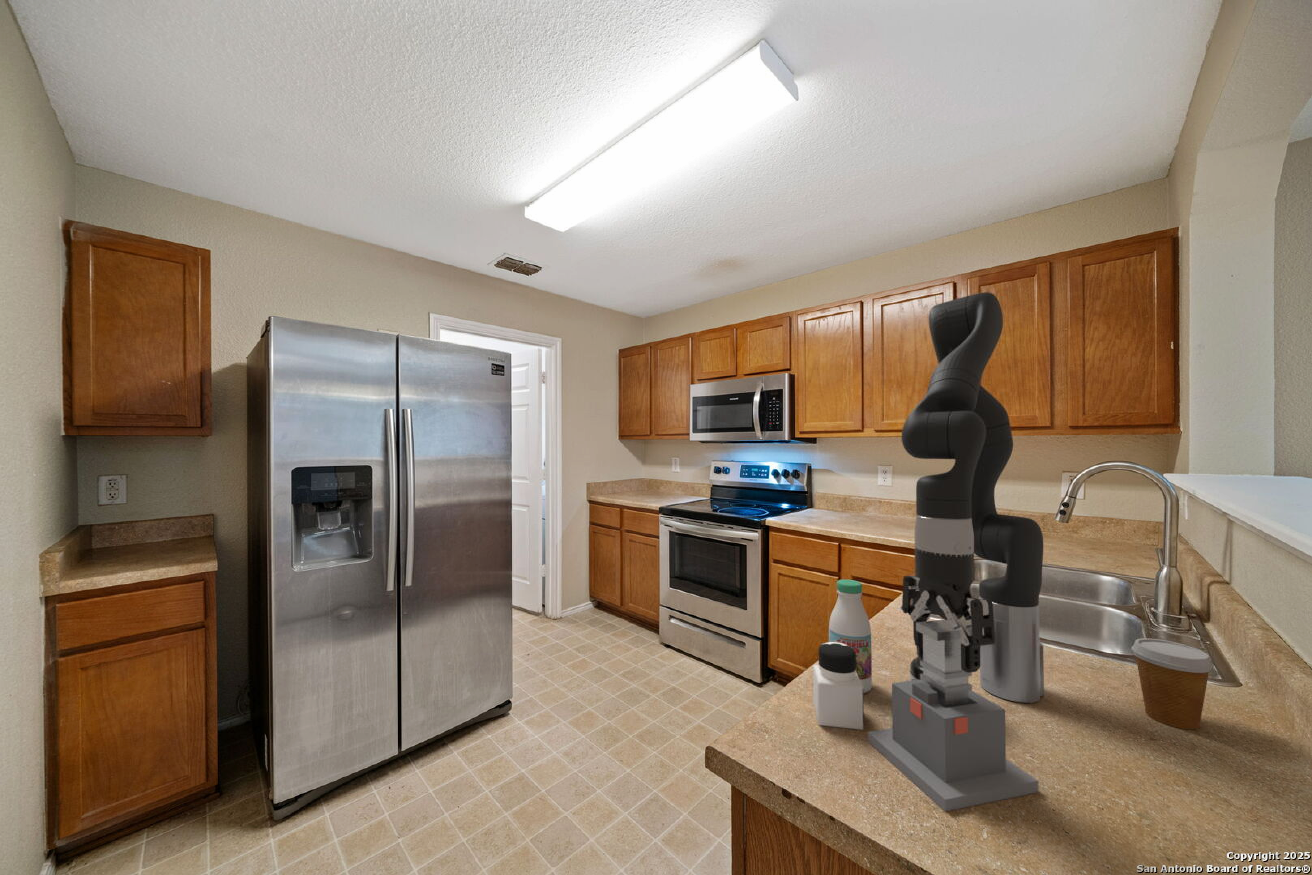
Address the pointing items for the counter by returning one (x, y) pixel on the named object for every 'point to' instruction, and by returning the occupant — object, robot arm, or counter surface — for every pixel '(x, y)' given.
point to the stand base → (951, 748)
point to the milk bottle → (853, 628)
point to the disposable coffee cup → (1172, 681)
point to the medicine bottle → (838, 687)
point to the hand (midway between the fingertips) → (944, 657)
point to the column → (944, 663)
